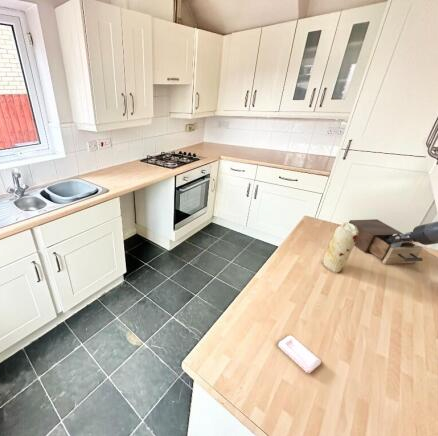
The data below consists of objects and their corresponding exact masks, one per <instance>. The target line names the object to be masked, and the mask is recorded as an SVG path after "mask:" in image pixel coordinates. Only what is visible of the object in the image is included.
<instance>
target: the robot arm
mask: <svg viewBox="0 0 438 436" xmlns="http://www.w3.org/2000/svg"><path fill="white" fill-rule="evenodd" d="M403 240H404V241H403ZM384 242H386V243H388V244H392V243H399V242H400V243H408V242H410V243H413V244H415V243H418V244H421V245H424V246H430V245H436V244H438V221H432V222H429V223H425V224H421V225H417V226H415V227H413V229H412V231H408V232H407V231H406V232H405V233H403V234H399V235H398V234H397V235H394V236H391V237H389V238H388V239H384Z"/></svg>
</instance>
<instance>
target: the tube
mask: <svg viewBox="0 0 438 436" xmlns="http://www.w3.org/2000/svg"><path fill="white" fill-rule="evenodd" d="M394 235H397V234H394ZM394 235H393V236H394ZM403 241H404V240H403ZM401 244H402V243H400V242H399V243H392V244H389V245H391V247H400V246H401ZM391 247H390V248H391ZM390 248H389V249H390ZM388 251H389V250H388ZM387 253H388V252H387Z"/></svg>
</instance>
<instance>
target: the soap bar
mask: <svg viewBox="0 0 438 436" xmlns="http://www.w3.org/2000/svg"><path fill="white" fill-rule="evenodd" d="M278 347H279V349H281V351H283V352H284V353H285V354H286V355H287V356H288V357H289V358H290V359H291V360H292V361H294V362H295V363H296V364H297V365H298V366H299V367H300V368H301V369H302V370H303V371H304V372H305V373H306V374H311V373H312V372H314V371H315V370H316V369H317V368H318V367H319V366H320V365H321V364H322V360H321V359H320V358H319V357H318V356H316V355H315V354H314V353H313V352H311V350H309V349H308V348H307V347H305V346H304V345H303V344H302V343H301V342H300V341H299V340H297V339H296V338H295V337H294V336H293V335H287V336H286V337H285V338H283V339H282V340H281V341H279V343H278Z"/></svg>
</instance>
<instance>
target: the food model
mask: <svg viewBox="0 0 438 436" xmlns="http://www.w3.org/2000/svg"><path fill="white" fill-rule="evenodd" d="M358 233H359V232H358V229H357V227H356V226H355V225H353V224H350V223H349V222H343V223H342V224H341V225H339V226H338V227H336V229H335V230H334V233H333V235H332V238H331V240H330V242H329V245H328V247H327V249H326V253H325V255H324V258H323V265H324V266H325V267H326V268H327V269H328V270H330V271H331V272H334V273H336V274H337V273H340V272H341V271H342V269H343V267H344V266H345V265H346V263H347V261H348V259H349V257H350V255H351V253H352V252H353V249H354V246H355V245H354V244H355V242H356V239H357V236H358Z"/></svg>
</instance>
